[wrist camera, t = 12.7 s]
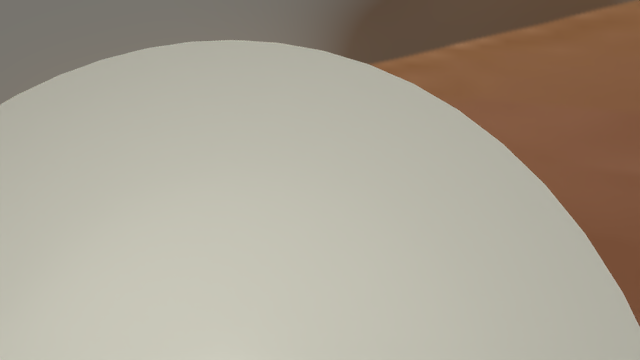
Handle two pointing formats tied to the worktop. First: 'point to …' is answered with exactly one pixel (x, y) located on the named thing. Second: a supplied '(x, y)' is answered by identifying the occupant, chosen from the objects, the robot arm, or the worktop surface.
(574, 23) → the worktop surface
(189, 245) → the white cylinder
